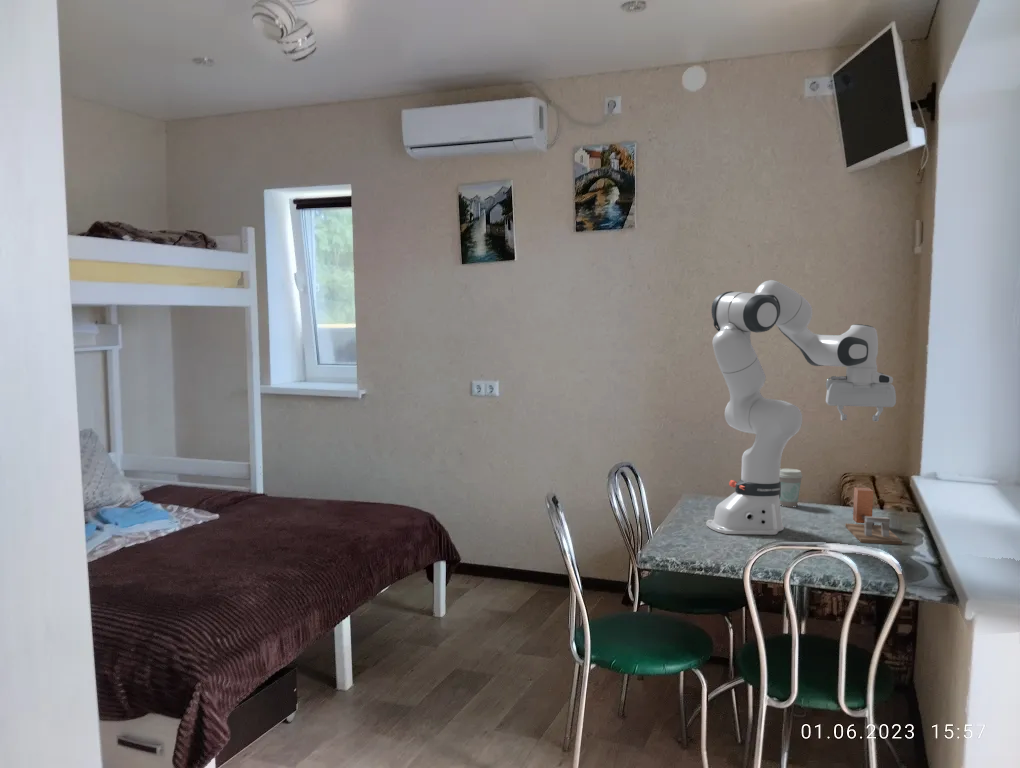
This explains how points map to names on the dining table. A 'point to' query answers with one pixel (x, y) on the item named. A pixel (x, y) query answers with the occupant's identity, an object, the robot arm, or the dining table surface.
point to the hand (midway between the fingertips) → (859, 420)
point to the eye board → (874, 531)
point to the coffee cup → (790, 486)
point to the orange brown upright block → (862, 504)
